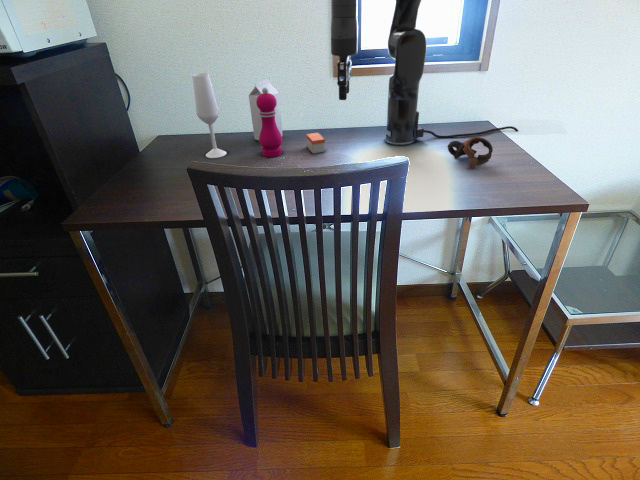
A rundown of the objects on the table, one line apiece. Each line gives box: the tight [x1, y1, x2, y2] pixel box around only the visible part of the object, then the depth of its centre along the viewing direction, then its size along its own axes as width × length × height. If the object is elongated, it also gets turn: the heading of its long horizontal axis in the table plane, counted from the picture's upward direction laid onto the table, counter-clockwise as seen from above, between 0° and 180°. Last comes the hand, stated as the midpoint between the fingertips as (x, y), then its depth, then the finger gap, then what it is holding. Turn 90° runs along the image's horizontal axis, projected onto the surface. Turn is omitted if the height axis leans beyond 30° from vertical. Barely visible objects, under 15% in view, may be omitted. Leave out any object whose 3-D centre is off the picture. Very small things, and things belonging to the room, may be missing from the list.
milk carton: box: [248, 78, 283, 141], centre depth 130 cm, size 7×7×19 cm
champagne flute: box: [191, 72, 228, 159], centre depth 118 cm, size 7×7×24 cm
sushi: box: [305, 132, 326, 154], centre depth 123 cm, size 4×7×4 cm, turn 18°
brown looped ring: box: [447, 136, 494, 169], centre depth 109 cm, size 12×10×8 cm
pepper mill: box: [256, 88, 283, 158], centre depth 117 cm, size 7×7×20 cm
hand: (344, 96), depth 116 cm, fingers open, 8 cm apart
